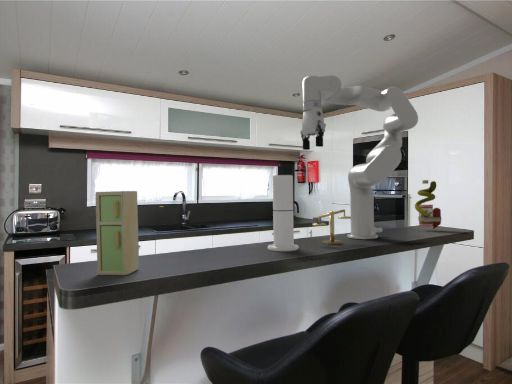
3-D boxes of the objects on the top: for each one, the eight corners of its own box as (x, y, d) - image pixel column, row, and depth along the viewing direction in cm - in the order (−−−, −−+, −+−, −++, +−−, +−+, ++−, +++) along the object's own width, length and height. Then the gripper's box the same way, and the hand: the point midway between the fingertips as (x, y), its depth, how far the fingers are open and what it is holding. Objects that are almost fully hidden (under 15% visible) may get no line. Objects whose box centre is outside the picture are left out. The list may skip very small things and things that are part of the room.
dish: (289, 245, 121) (289, 242, 121) (304, 249, 111) (304, 246, 111) (262, 247, 117) (262, 244, 117) (276, 252, 107) (276, 249, 107)
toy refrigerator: (94, 275, 79) (93, 191, 80) (112, 268, 87) (111, 191, 87) (123, 276, 78) (122, 190, 78) (139, 269, 85) (138, 191, 86)
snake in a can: (416, 231, 156) (415, 180, 156) (414, 229, 165) (413, 180, 165) (443, 232, 151) (442, 179, 151) (440, 229, 161) (439, 180, 161)
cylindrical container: (270, 246, 113) (269, 175, 113) (278, 243, 119) (277, 176, 119) (289, 247, 109) (288, 174, 109) (296, 244, 116) (295, 175, 116)
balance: (345, 241, 129) (345, 208, 129) (354, 242, 124) (353, 209, 125) (310, 244, 122) (309, 210, 122) (317, 246, 118) (316, 210, 118)
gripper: (332, 102, 127) (332, 145, 127) (308, 112, 143) (309, 151, 143) (316, 100, 124) (316, 144, 124) (293, 111, 140) (294, 150, 140)
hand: (312, 148), depth 133 cm, fingers open, 9 cm apart
